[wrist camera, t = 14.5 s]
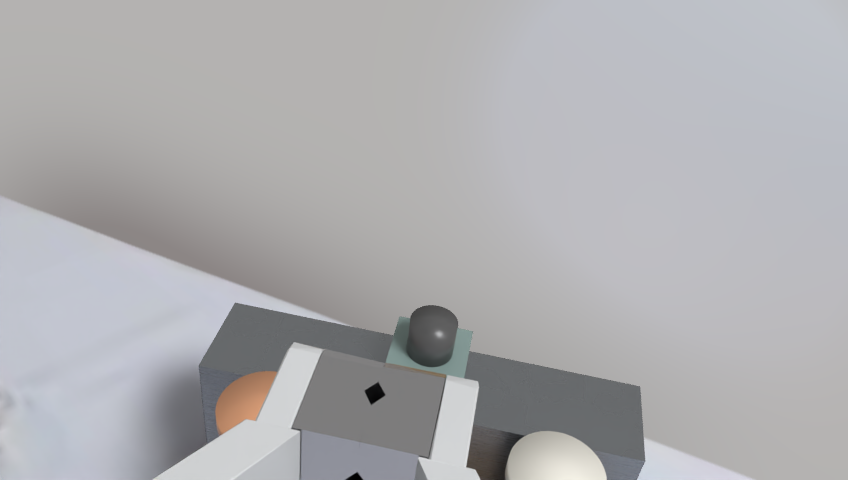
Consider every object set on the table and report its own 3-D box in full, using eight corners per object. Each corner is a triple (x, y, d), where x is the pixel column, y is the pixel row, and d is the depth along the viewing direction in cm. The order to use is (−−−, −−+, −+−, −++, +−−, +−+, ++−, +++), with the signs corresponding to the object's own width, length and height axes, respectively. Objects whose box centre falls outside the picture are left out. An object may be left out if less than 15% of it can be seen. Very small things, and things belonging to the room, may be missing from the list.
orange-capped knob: (213, 562, 41) (199, 435, 34) (286, 392, 51) (286, 269, 44) (295, 581, 41) (297, 456, 34) (353, 407, 50) (363, 284, 44)
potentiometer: (380, 396, 39) (386, 341, 36) (396, 342, 42) (403, 288, 39) (457, 413, 38) (468, 358, 36) (467, 357, 42) (478, 303, 39)
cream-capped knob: (468, 622, 40) (503, 503, 33) (492, 437, 50) (523, 317, 43) (555, 642, 39) (607, 526, 33) (562, 452, 49) (604, 333, 43)
